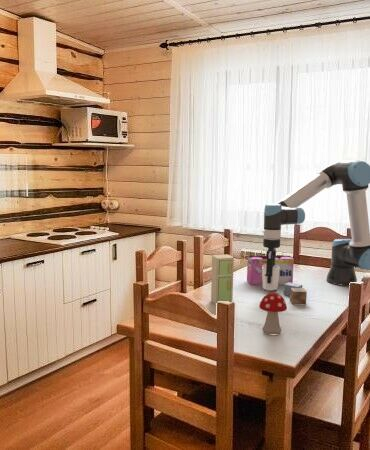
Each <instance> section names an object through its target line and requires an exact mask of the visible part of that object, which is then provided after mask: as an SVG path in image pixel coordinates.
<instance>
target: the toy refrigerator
mask: <svg viewBox="0 0 370 450" xmlns="http://www.w3.org/2000/svg"><path fill="white" fill-rule="evenodd" d="M234 259H235V258H234V257H233V256H232V255H230V254H212V256H211V286H210V287H211V288H210V290H211V293H210V296H211V297H210V301H211V302H212V303H213V304H214V305H215V304H216V303H217V302H218V301H229V302H232V303H233V299H234V298H233V296H234V295H233V294H234V293H233V291H234V264H235V260H234Z"/></svg>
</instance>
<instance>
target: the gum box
mask: <svg viewBox="0 0 370 450" xmlns="http://www.w3.org/2000/svg"><path fill="white" fill-rule="evenodd" d="M246 263H247V268H246V269H247V270H246V282H247V283H248V284H249V285H250V286H251V285H253V286H254V285H260V286H261V285H262V286H263V282H262V266H263V265H267V255H247V261H246ZM294 264H295V259H294V258H293V257H292V256H291V255H276V258H275V265H276V266H279V267H280V270H279V280H278V285H284V284H286V283H288V282H291V283H294V282H293V281H294Z"/></svg>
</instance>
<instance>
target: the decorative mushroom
mask: <svg viewBox="0 0 370 450" xmlns="http://www.w3.org/2000/svg"><path fill="white" fill-rule="evenodd" d="M259 309H260V310H262V311H265V312H267V314H266V318H265V320H264V321H265V322H264V324H263V327H261V328H262V332H264V333H266V334H265V335H267V334H279V335H280V334H281V333H282V327H281V325H280V320H279V319H280V318H279V313H281V312H285V311H287V309H288V307H287V303H286V301H285V298H284V297H283V295H282V294H281V295H280V293H277V292H269V293H266V295H264V296H263V297H262V298H261V301H260V303H259ZM264 333H263V334H264Z"/></svg>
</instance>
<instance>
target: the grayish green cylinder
mask: <svg viewBox="0 0 370 450" xmlns="http://www.w3.org/2000/svg"><path fill="white" fill-rule="evenodd" d="M263 290H264V292H267V293H268V292H269V293H277V289H276V290H266V289H264V288H263Z"/></svg>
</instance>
